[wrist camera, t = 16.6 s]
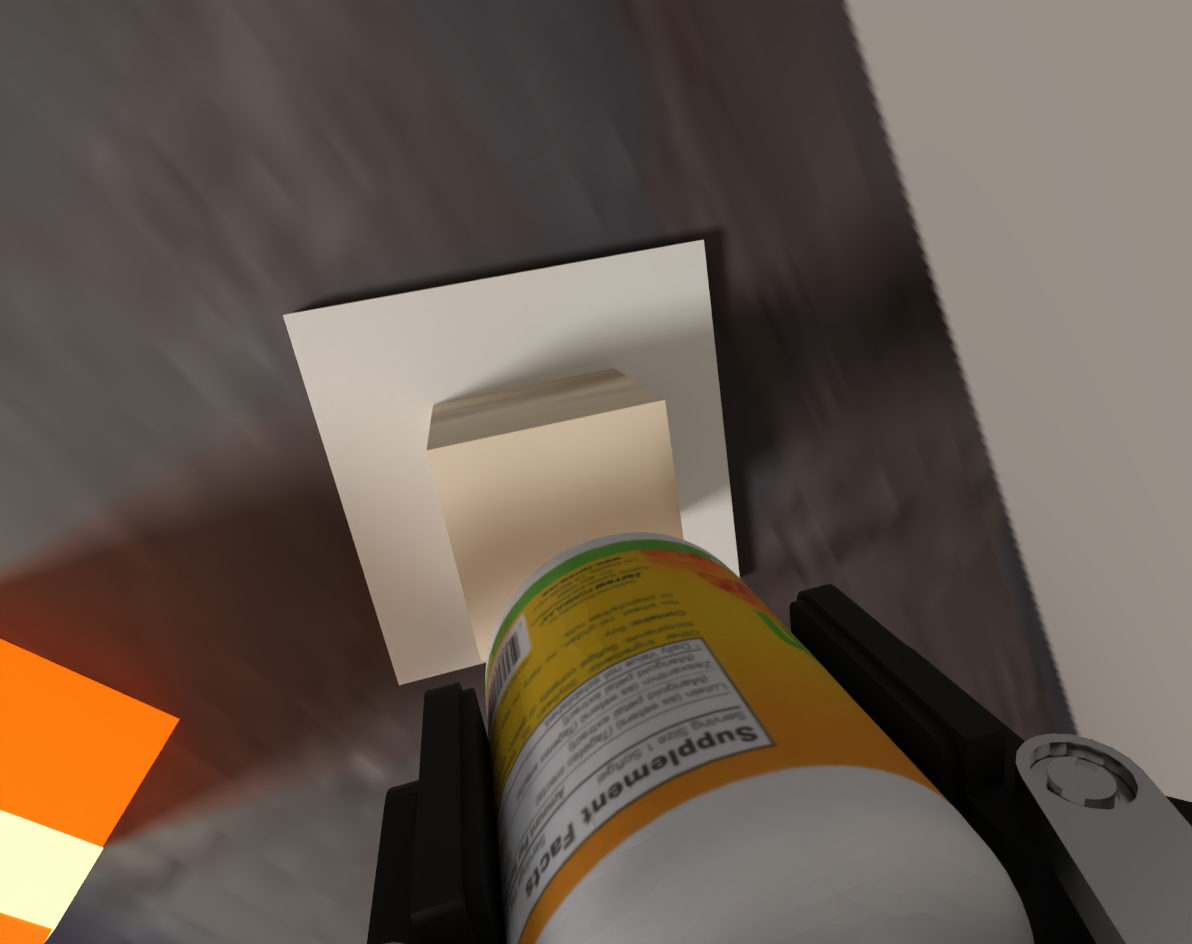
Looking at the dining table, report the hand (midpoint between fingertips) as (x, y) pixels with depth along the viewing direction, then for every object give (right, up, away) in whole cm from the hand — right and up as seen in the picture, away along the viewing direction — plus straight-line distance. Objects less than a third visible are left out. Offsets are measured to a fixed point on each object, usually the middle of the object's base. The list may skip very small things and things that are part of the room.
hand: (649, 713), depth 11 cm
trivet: (-3, +4, +14) cm, 15 cm away
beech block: (-3, +4, +13) cm, 14 cm away
